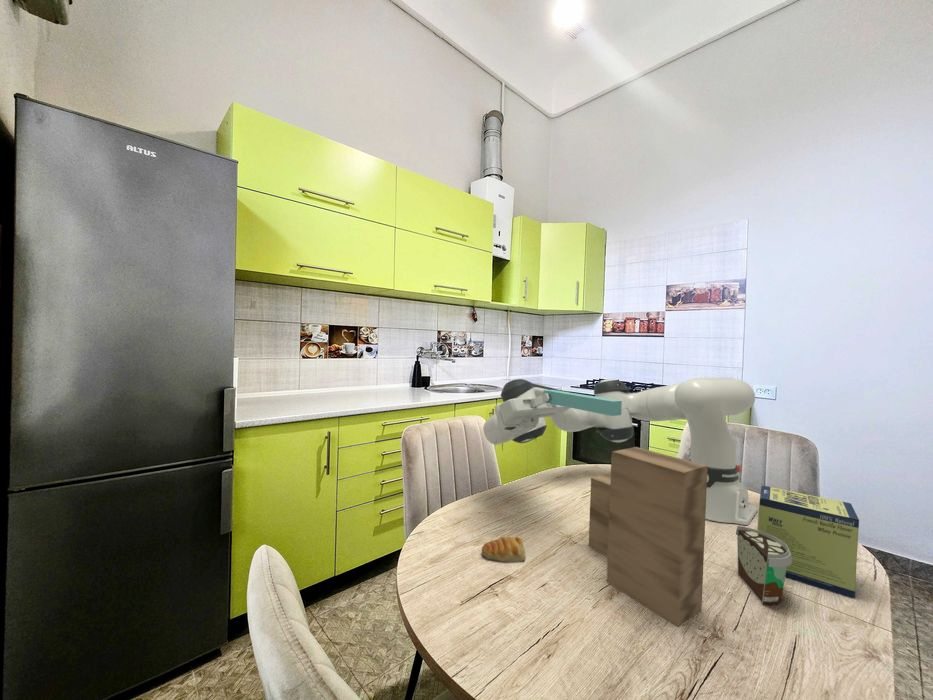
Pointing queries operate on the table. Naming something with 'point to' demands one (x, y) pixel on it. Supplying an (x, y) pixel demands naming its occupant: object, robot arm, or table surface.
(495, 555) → the pastry
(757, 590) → the food container
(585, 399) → the teal block
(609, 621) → the table surface
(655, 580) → the walnut stand
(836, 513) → the protein box
